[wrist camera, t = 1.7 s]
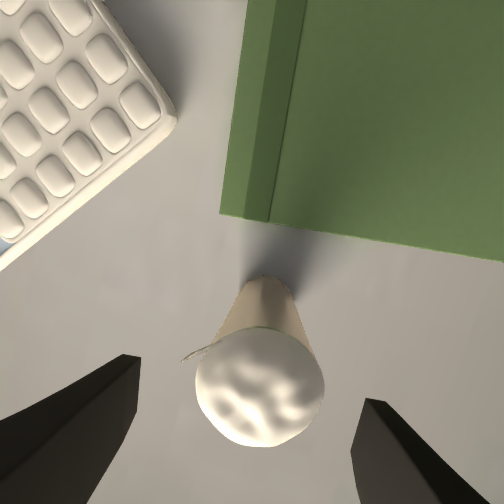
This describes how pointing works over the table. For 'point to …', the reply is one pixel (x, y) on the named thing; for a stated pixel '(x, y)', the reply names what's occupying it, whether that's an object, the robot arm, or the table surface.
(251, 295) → the milkshake
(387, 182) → the towel
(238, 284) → the table surface
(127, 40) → the calculator
